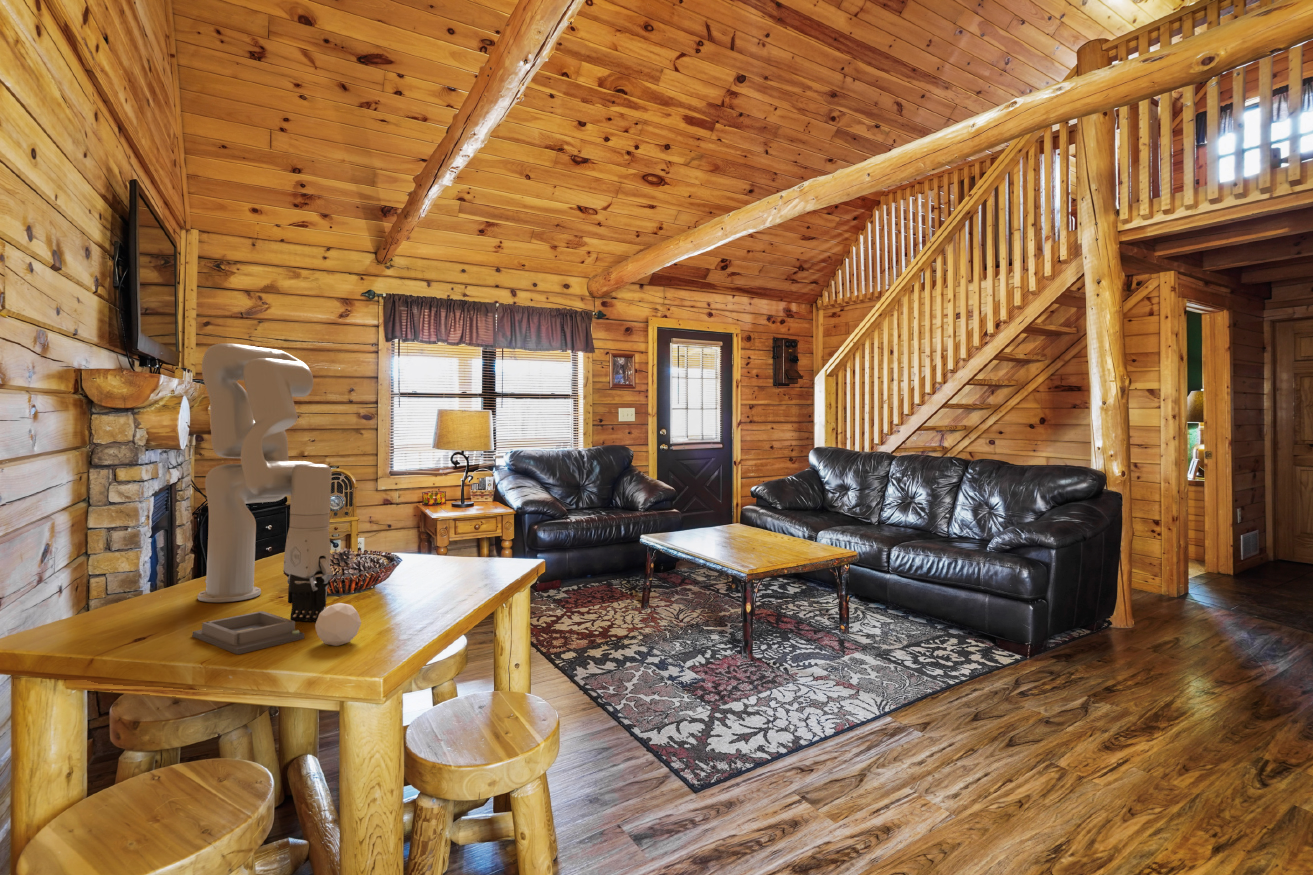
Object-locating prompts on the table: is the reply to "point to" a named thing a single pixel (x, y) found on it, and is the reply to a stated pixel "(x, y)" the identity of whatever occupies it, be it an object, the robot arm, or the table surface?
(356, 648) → the table surface
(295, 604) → the battery charger
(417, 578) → the table surface
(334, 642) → the geometric ball
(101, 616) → the table surface
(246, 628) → the charging dock
